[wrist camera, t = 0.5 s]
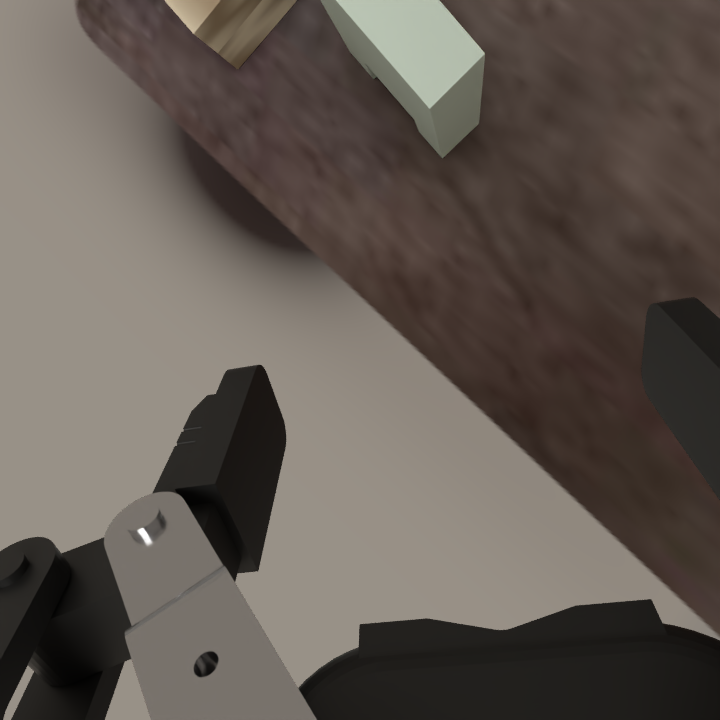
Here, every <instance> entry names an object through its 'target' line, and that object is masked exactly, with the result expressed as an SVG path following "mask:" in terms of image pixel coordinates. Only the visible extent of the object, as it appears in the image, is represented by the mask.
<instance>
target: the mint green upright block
mask: <svg viewBox="0 0 720 720" xmlns="http://www.w3.org/2000/svg"><path fill="white" fill-rule="evenodd" d="M321 2H322V4H323V6H324V7H325V9H326V11H327V13H328V14H329V16H330V18H331V19H332V21H333V23H334V25H335V26H336V28H337V30H338V32H339V33H340V35H341V37H342V39H343V40H344V42H345V44H346V46H347V47H348V49H349V51H350V53H351V54H352V55H353V56H354V57H355V58H356V59H357V61H358V62H359V63H360V64H361V65H362V66H363V68H364V69H365V70H366V71H367V72H368V73H369V74H370V76H371V77H372V78H373V79H375V78H376V77H378V78H379V80H380V81H381V82H382V83H383V84H384V85H385V87H386V88H387V89H388V90H389V91H390V92H391V94H392V95H393V96H394V97H395V98H396V99H397V100H398V102H399V103H400V104H401V105H402V106H403V107H404V109H405V110H406V111H407V112H408V113H409V114H410V115H411V117H412V118H413V119H414V120H415V123H416V125H417V128H418V131H419V132H420V133H421V135H422V136H423V137H424V138H425V139H426V140H427V141H428V143H429V144H430V145H431V146H432V147H433V148H434V150H435V151H436V152H437V153H438V154H439V155H440V156H441V158H443V157H445V156H446V155H447V154H448V153H449V152H450V151H451V150H452V149H453V148H454V147H455V146H456V145H457V144H458V143H459V142H460V141H461V140H462V139H463V138H464V137H466V136H467V135H468V134H469V133H470V132H471V131H472V130H473V129H474V128H475V127H476V126H477V125H478V124H479V118H480V107H481V96H482V84H483V73H484V62H485V53H484V52H483V51H482V49H481V48H480V47H479V46H478V45H477V44H476V42H475V41H474V40H473V39H472V38H471V37H470V35H469V34H468V33H467V32H466V31H465V30H464V28H463V27H462V26H461V25H460V24H459V23H458V21H457V20H456V19H455V18H454V17H453V16H452V15H451V13H450V12H449V11H448V10H447V9H446V8H445V6H444V5H443V4H442V3H441V2H440V1H439V0H321Z"/></svg>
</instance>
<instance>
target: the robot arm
mask: <svg viewBox="0 0 720 720" xmlns="http://www.w3.org/2000/svg"><path fill="white" fill-rule="evenodd" d="M641 371H642V381H643V385H644V389H645V392H646V394H647V396H648V398H649V400H650V401H651V402H652V404H653V405H654V407H655V408H656V410H657V411H658V412H659V414H660V415H661V417H662V418H663V420H664V421H665V423H666V424H667V425H668V427H669V428H670V430H671V431H672V433H673V434H674V435H675V437H676V438H677V440H678V441H679V443H680V444H681V445H682V447H683V448H684V450H685V451H686V453H687V454H688V455H689V457H690V458H691V460H692V461H693V463H694V464H695V465H696V467H697V468H698V470H699V471H700V473H701V474H702V475H703V477H704V478H705V480H706V481H707V483H708V484H709V486H710V487H711V488H712V490H713V491H714V493H715V494H716V496H717V497H718V498H719V500H720V319H719V318H718V317H717V316H716V315H715V314H714V313H713V312H712V311H710V310H709V309H708V308H707V307H706V306H705V305H704V304H703V303H702V302H700V301H699V300H698V299H697V298H694V297H691V298H685V299H678V300H672V301H666V302H659V303H653V304H651V305H650V306H649V308H648V311H647V315H646V325H645V336H644V347H643V358H642V370H641ZM183 429H184V432H181V434H180V437H179V439H178V441H177V446H175V447H174V449H173V452H172V453H171V456H170V457H169V460H168V462H167V464H166V466H165V468H164V470H163V472H162V474H161V476H160V479H159V481H158V483H157V485H156V487H155V489H154V491H153V493H152V494H150V495H147V496H144V497H142V498H140V499H138V500H136V501H134V502H133V503H131V504H130V505H128V506H127V507H126V508H124V509H123V510H122V511H121V512H120V513H119V514H118V515H117V516H116V517H115V518H114V519H113V521H112V522H111V524H110V525H109V527H108V529H107V531H106V533H105V537H104V538H101V539H99V540H96V541H93V542H91V543H88V544H86V545H83V546H80V547H78V548H75V549H72V550H70V551H67V552H64V553H62V554H61V553H60V551H59V550H58V549H57V548H56V546H55V545H54V544H53V542H52V541H51V540H49V539H47V538H44V537H34V538H28V539H25V540H22V541H19V542H16V543H14V544H12V545H10V546H8V547H7V548H5V549H3V550H2V551H0V720H3V717H4V714H5V711H6V709H7V706H8V704H9V702H10V700H11V698H12V696H13V694H14V692H15V690H16V688H17V686H18V684H19V682H20V680H21V677H22V676H23V673H24V672H25V669H26V667H27V665H28V666H29V667H30V668H31V669H33V670H34V673H33V675H32V677H31V679H30V682H29V684H28V686H27V688H26V690H25V692H24V694H23V696H22V698H21V700H20V702H19V705H18V707H17V709H16V711H15V713H14V715H13V717H12V719H11V720H105V717H106V714H107V711H108V708H109V705H110V703H111V700H112V697H113V694H114V691H115V688H116V685H117V682H118V679H119V676H120V673H121V670H122V668H123V665H124V662H125V661H127V660H129V659H132V662H133V665H134V668H135V671H136V674H137V677H138V680H139V684H140V687H141V690H142V693H143V696H144V699H145V702H146V705H147V709H148V712H149V714H150V718H151V720H720V640H717V639H715V638H713V637H710V636H707V635H704V634H701V633H698V632H696V631H692V630H689V629H685V628H681V627H678V626H674V625H668V624H662V621H661V619H660V617H659V615H658V613H657V611H656V609H655V606H654V604H653V602H652V600H651V599H648V600H637V601H625V602H614V603H602V604H591V605H579V606H574V607H571V608H568V609H565V610H562V611H560V612H557V613H554V614H551V615H548V616H546V617H543V618H540V619H537V620H534V621H531V622H529V623H526V624H523V625H520V626H517V627H514V628H512V629H508V630H493V629H487V628H481V627H475V626H469V625H463V624H457V623H451V622H445V621H439V620H433V619H416V620H405V621H393V622H381V623H370V624H360V629H359V647H358V648H356V649H353V650H351V651H349V652H346V653H344V654H343V655H340V656H339V657H336V658H334V659H333V660H331V661H330V662H328V663H327V664H326V665H324V666H323V667H321V668H319V669H318V670H317V671H316V672H315V673H314V674H313V675H311V676H310V677H309V678H308V679H306V680H305V681H304V683H303V684H302V685H301V686H300V687H299V688H298V687H297V686H296V684H295V682H294V681H293V679H292V677H291V676H290V674H289V672H288V671H287V669H286V667H285V666H284V664H283V662H282V661H281V659H280V657H279V656H278V654H277V652H276V651H275V649H274V647H273V645H272V644H271V642H270V641H269V639H268V637H267V635H266V634H265V632H264V630H263V629H262V627H261V625H260V624H259V622H258V620H257V619H256V617H255V615H254V614H253V612H252V610H251V609H250V607H249V606H248V604H247V602H246V600H245V599H244V597H243V595H242V594H241V592H240V590H239V589H238V587H237V585H236V584H235V580H236V577H237V573H245V572H255V571H258V570H259V565H260V561H261V556H262V551H263V547H264V542H265V538H266V533H267V528H268V524H269V520H270V515H271V511H272V506H273V502H274V497H275V493H276V488H277V483H278V479H279V474H280V470H281V465H282V461H283V456H284V452H285V447H286V430H285V424H284V420H283V417H282V414H281V411H280V408H279V406H278V403H277V400H276V398H275V395H274V392H273V389H272V387H271V384H270V381H269V378H268V375H267V373H266V371H265V369H264V367H263V366H262V365H255V366H248V367H242V368H236V369H230V370H227V371H226V372H225V374H224V376H223V379H222V381H221V383H220V386H219V388H218V390H217V393H216V394H214V395H208V396H206V397H205V398H204V399H203V400H202V401H201V402H200V403H199V404H198V405H197V406H196V407H195V408H194V409H193V410H192V412H191V414H190V416H189V418H188V420H187V422H186V424H185V426H184V428H183Z"/></svg>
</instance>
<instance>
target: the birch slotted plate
mask: <svg viewBox="0 0 720 720" xmlns="http://www.w3.org/2000/svg"><path fill="white" fill-rule="evenodd" d="M165 1H166V3H167V4H168V5H169V6H170V7H171V8H172V10H173V11H174V12H175V13H176V14H177V15H178V16H179V18H180V19H181V20H182V21H183V22H184V23H185V24H186V26H187V27H188V28H189V29H190V30H191V31H192V33H193V34H194V35H196V36H197V37H198V38H199V39H201V40H202V41H203V42H204V43H206V44H207V45H208V46H209V47H210V48H212V49H213V50H214V51H215V52H217V53H218V54H219V55H220V56H221V57H223V58H224V59H225V60H226V61H228V62H229V63H230V64H231V65H233V66H234V67H235V68H236V69H237V70H238V69H239V68H240V67H241V65H242V64H243V63H244V62H245V61H246V60H247V58H248V57H249V56H250V55H251V54H252V53H253V51H254V50H255V49H256V48H257V47H258V46H259V44H260V43H261V42H262V41H263V40H264V39H265V37H266V36H267V35H268V34H269V33H270V32H271V30H272V29H273V28H274V27H275V26H276V25H277V23H278V22H279V21H280V20H281V19H282V18H283V16H284V15H285V14H286V13H287V12H288V11H289V9H290V8H291V7H292V6H293V5H294V4H295V2H296V1H297V0H165Z"/></svg>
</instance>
